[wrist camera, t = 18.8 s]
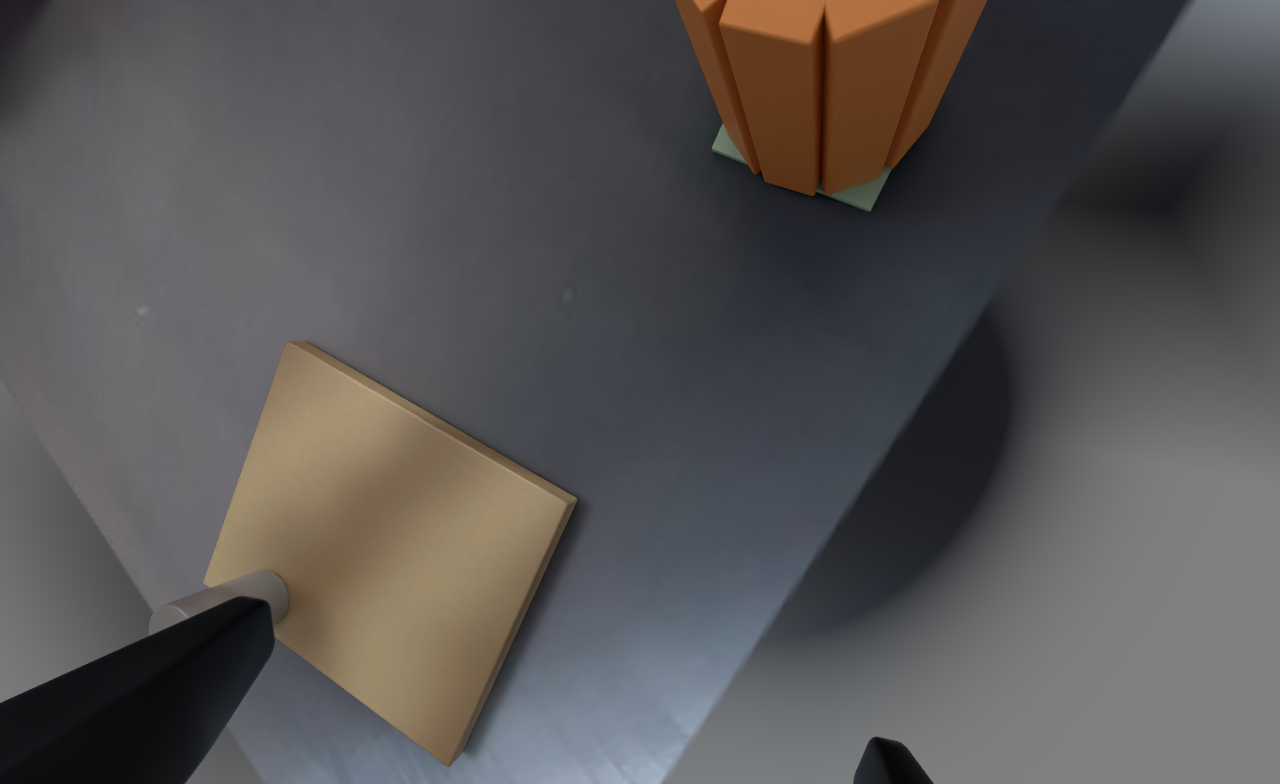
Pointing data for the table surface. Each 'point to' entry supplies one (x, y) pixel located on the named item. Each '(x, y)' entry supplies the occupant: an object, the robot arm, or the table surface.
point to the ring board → (382, 547)
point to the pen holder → (827, 80)
